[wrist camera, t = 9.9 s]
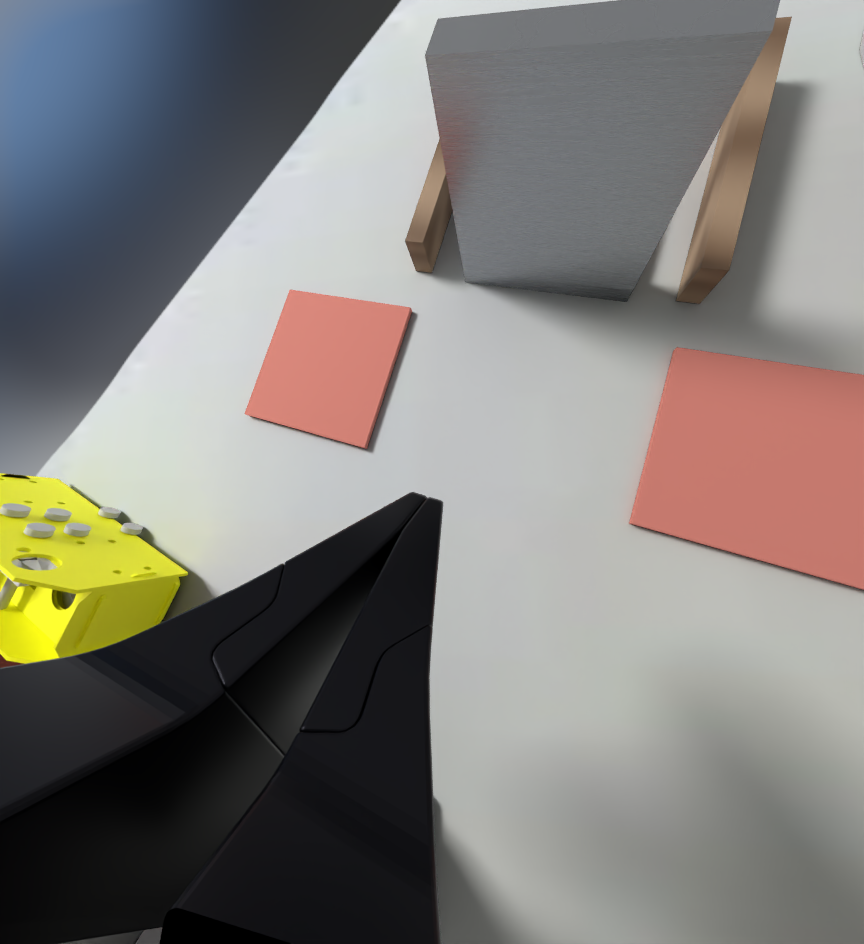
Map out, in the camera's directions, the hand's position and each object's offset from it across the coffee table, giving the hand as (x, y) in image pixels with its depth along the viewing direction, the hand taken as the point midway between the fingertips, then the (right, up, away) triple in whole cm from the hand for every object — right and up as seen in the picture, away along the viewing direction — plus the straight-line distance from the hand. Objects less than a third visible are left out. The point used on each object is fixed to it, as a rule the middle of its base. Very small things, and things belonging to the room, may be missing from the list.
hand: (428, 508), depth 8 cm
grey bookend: (+9, +18, +13) cm, 24 cm away
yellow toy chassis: (-25, -5, +17) cm, 30 cm away
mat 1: (-7, +9, +15) cm, 19 cm away
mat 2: (+17, +2, +8) cm, 19 cm away
